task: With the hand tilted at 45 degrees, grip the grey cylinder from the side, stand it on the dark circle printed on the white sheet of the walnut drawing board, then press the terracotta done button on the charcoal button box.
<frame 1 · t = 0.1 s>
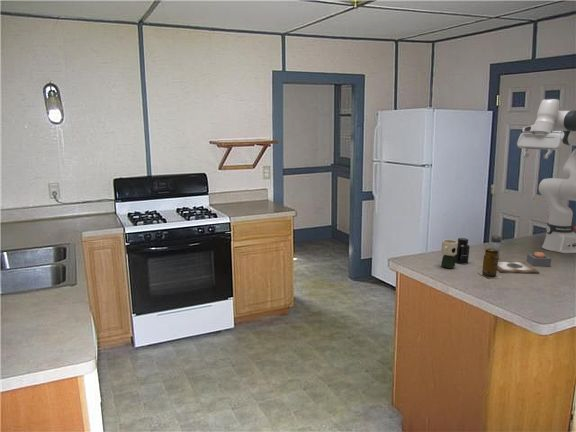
hand: (535, 157, 233), 52 cm above the worktop, tool tilted 20°, fingers open, 8 cm apart
character mug: (447, 267, 230), on the worktop
supplement bottle: (460, 262, 239), on the worktop
button box: (538, 264, 238), on the worktop
done button: (539, 255, 237), point 4 cm above the worktop, slide at 0.0 cm
grey cylinder: (494, 259, 245), on the worktop
condiment: (490, 276, 219), on the worktop
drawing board: (512, 268, 230), on the worktop
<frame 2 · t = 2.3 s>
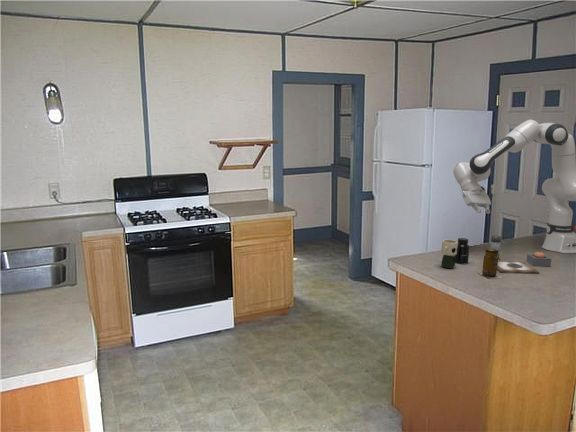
hand: (483, 212, 248), 23 cm above the worktop, tool tilted 40°, fingers open, 8 cm apart
nothing on the worktop moved.
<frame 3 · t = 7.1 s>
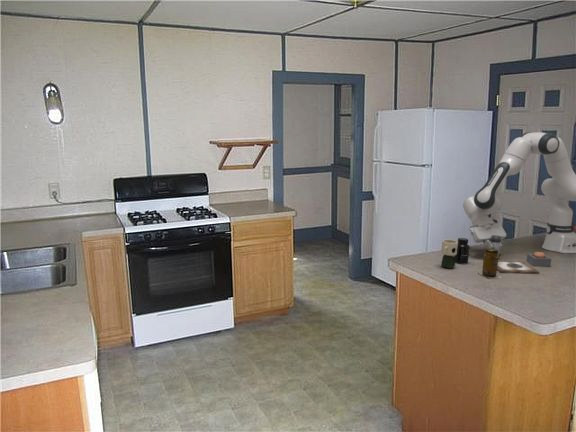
hand: (496, 247, 243), 6 cm above the worktop, tool tilted 45°, fingers closed on grey cylinder, 4 cm apart
grey cylinder: (494, 259, 245), on the worktop, touching gripper
everything else where it was.
when the fingers open (9 cm above the worktop, at t = 13.3 s): grey cylinder drops 1 cm, resting on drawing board.
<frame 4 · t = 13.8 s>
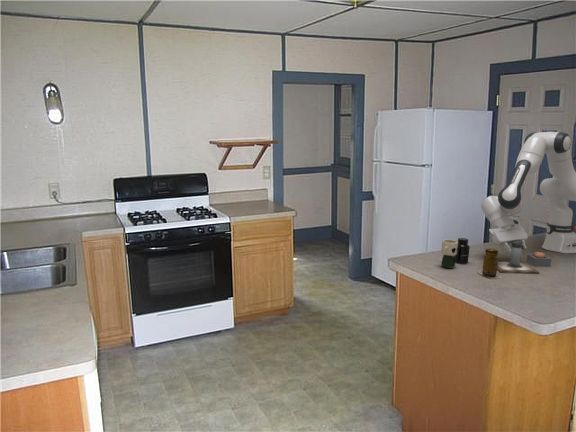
hand: (517, 250, 228), 9 cm above the worktop, tool tilted 45°, fingers open, 8 cm apart
grey cylinder: (514, 265, 230), point 1 cm above the worktop, touching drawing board
everything else where it was.
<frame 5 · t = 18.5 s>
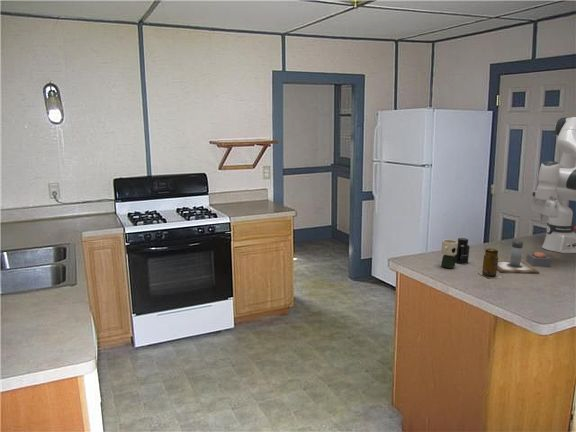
hand: (543, 223, 234), 21 cm above the worktop, tool pointing down, fingers closed
nothing on the worktop moved.
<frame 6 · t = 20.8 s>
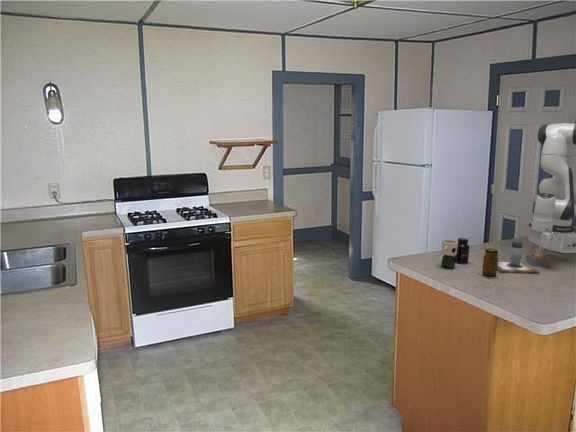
hand: (538, 253, 237), 5 cm above the worktop, tool pointing down, fingers closed, pressing on done button
done button: (539, 256, 237), point 4 cm above the worktop, slide at 0.5 cm, touching gripper
everything else where it was.
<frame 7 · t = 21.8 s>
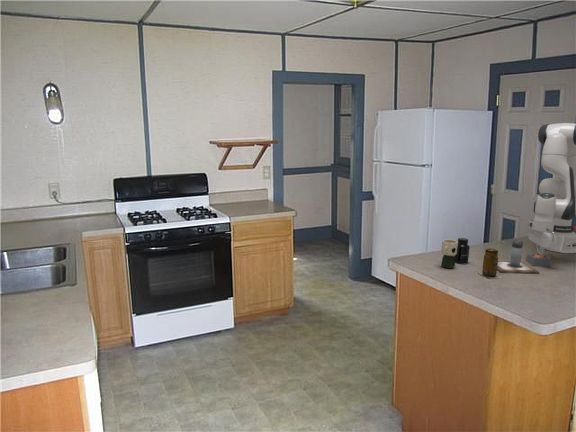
hand: (540, 253, 237), 5 cm above the worktop, tool pointing down, fingers closed
done button: (538, 257, 237), point 3 cm above the worktop, slide at 1.2 cm
everything else where it was.
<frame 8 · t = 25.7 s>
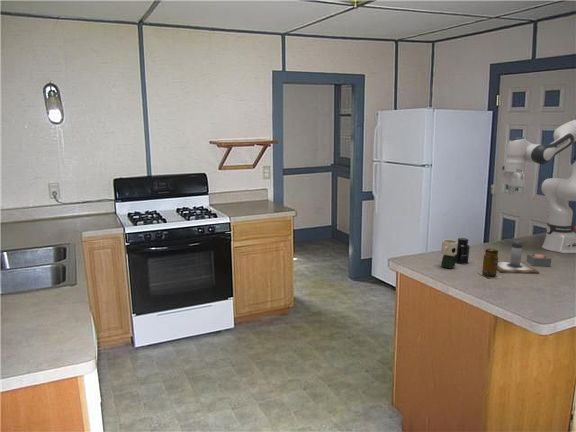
hand: (511, 194, 256), 31 cm above the worktop, tool pointing down, fingers closed
nothing on the worktop moved.
at the end: grey cylinder inside the target area (0.1 cm from its centre), point 1.3 cm above the worktop; grey cylinder tilted 0°; done button slide at 1.2 cm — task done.
